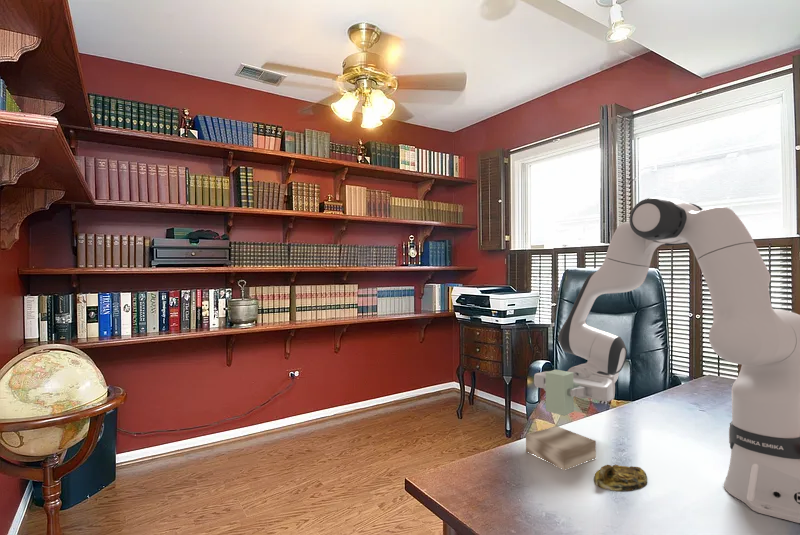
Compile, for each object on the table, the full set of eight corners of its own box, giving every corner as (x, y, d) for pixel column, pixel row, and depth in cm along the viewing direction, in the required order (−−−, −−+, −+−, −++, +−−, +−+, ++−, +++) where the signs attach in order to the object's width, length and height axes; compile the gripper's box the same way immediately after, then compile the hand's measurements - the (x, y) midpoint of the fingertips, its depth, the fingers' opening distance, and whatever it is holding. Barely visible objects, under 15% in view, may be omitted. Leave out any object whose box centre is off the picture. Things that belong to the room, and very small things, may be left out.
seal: (621, 469, 104) (582, 484, 97) (619, 449, 105) (580, 463, 97) (660, 481, 96) (621, 498, 89) (657, 459, 97) (618, 474, 89)
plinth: (595, 460, 107) (595, 440, 107) (564, 471, 101) (563, 450, 101) (556, 444, 118) (556, 426, 118) (526, 453, 112) (525, 434, 112)
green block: (573, 411, 109) (573, 372, 110) (564, 415, 106) (563, 375, 106) (555, 406, 113) (555, 369, 113) (545, 411, 110) (545, 372, 110)
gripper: (548, 364, 126) (522, 371, 117) (620, 376, 111) (597, 385, 102) (548, 385, 126) (522, 394, 117) (620, 400, 111) (597, 412, 102)
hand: (557, 390), depth 109 cm, fingers closed on green block, 5 cm apart
